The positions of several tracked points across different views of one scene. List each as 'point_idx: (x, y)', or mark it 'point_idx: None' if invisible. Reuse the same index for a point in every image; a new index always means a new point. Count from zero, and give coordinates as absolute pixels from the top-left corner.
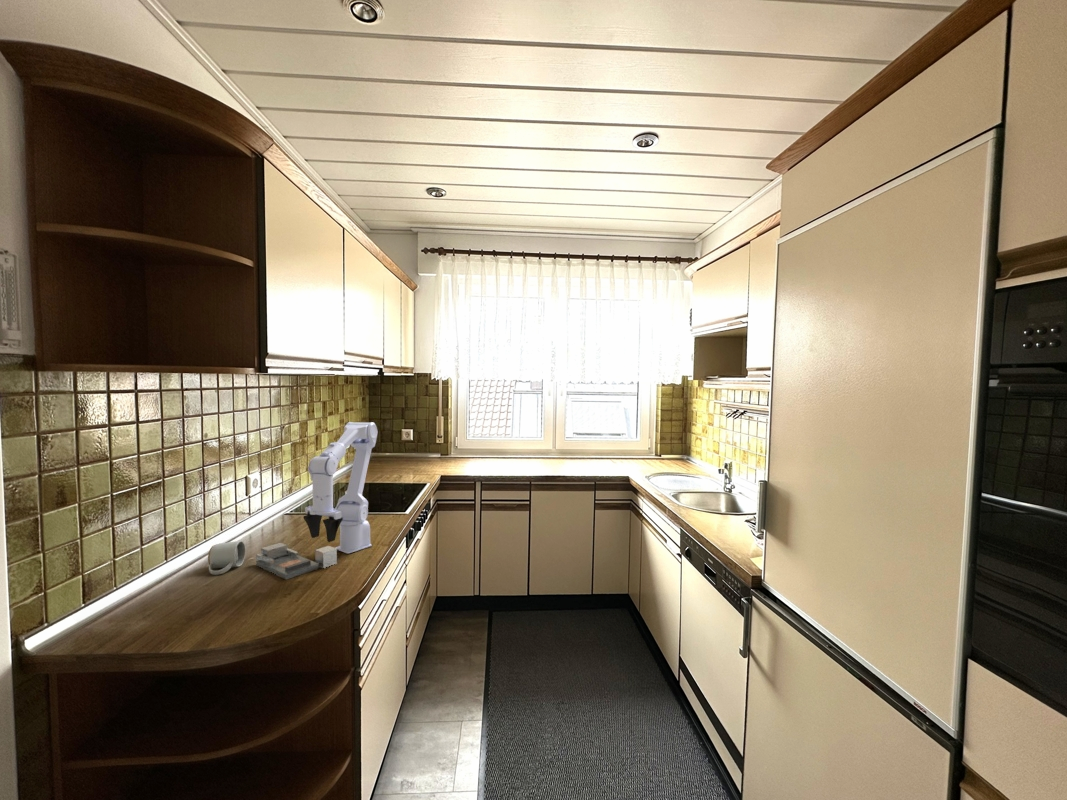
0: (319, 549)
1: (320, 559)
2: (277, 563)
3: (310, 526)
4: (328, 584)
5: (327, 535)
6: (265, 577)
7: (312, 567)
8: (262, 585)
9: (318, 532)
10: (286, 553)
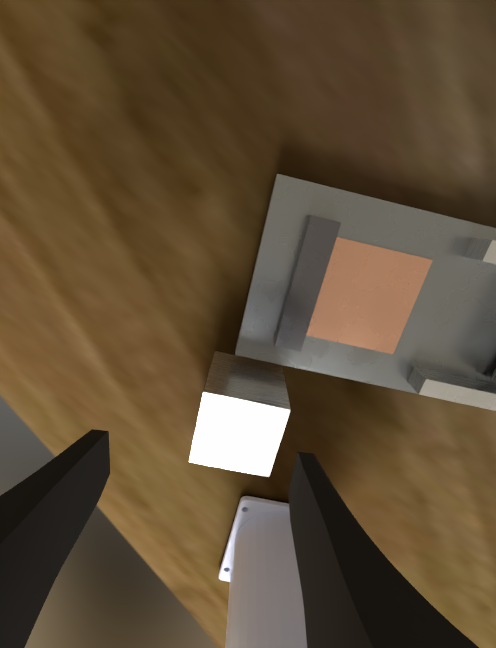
0: (270, 422)
1: (237, 374)
2: (454, 275)
3: (330, 542)
4: (30, 220)
5: (60, 464)
6: (412, 153)
7: (242, 319)
8: (340, 55)
9: (293, 520)
10: (494, 380)
